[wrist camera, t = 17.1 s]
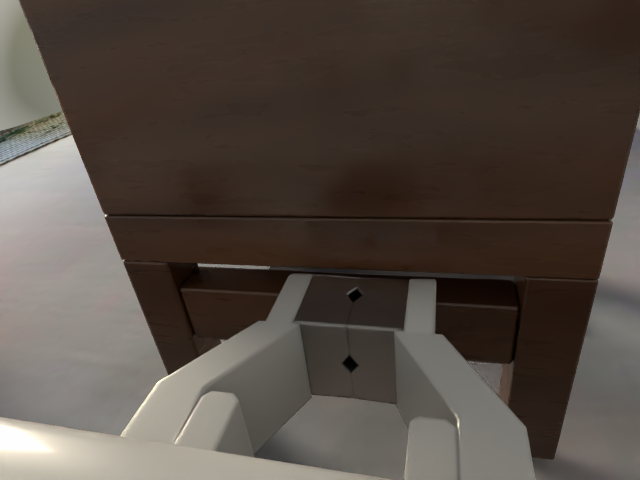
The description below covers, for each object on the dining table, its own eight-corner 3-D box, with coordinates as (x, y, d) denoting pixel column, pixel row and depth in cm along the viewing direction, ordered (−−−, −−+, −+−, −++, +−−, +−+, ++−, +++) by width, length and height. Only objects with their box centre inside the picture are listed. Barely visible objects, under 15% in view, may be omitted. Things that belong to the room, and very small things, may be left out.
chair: (551, 473, 11) (926, -1018, 3) (185, 422, 13) (-164, -446, 5) (504, 252, 19) (567, -290, 11) (283, 246, 22) (204, -200, 14)
